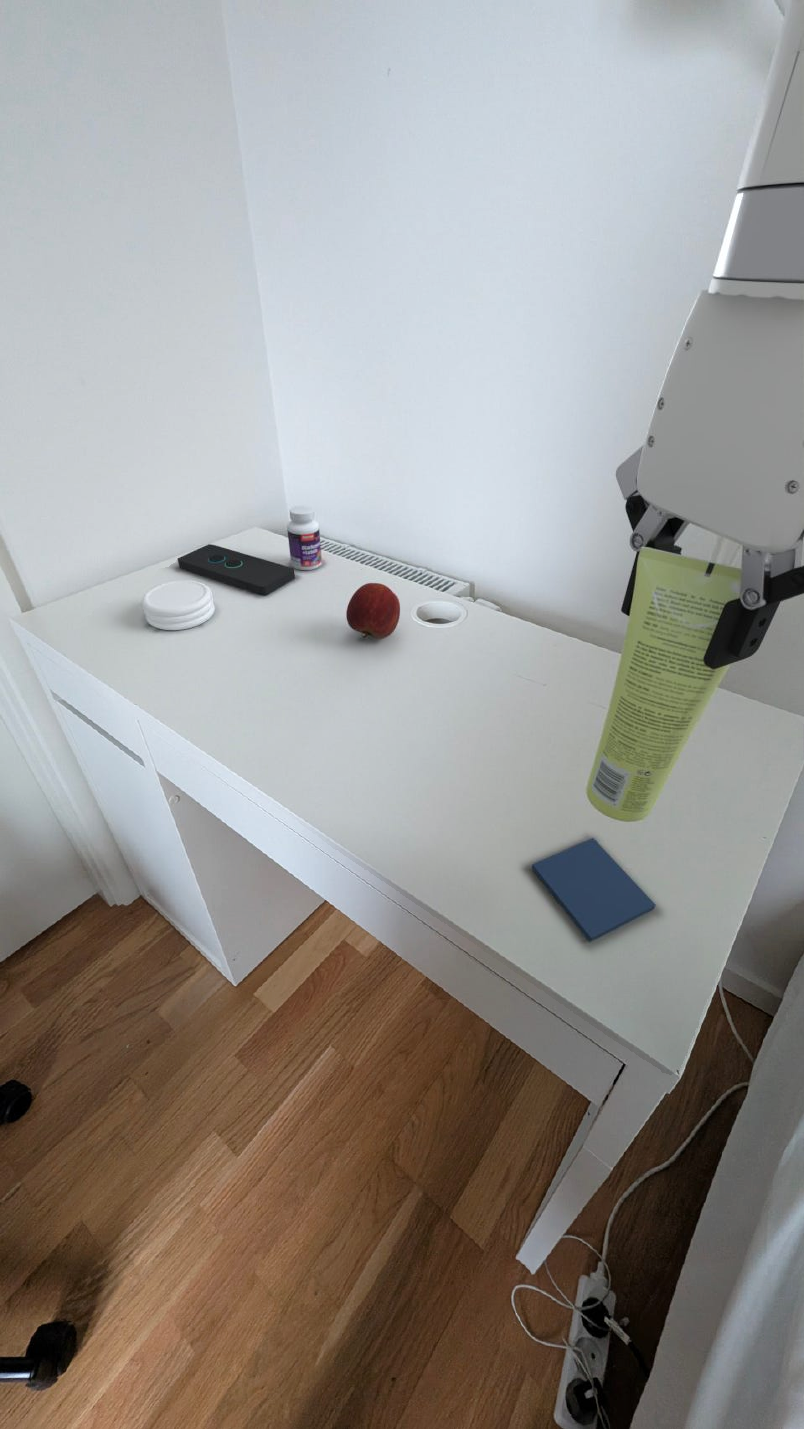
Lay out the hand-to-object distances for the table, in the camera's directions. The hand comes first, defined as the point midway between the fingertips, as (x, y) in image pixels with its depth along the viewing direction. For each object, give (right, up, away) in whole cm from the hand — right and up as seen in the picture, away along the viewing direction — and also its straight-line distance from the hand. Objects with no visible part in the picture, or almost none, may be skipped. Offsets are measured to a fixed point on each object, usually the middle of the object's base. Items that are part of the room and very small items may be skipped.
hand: (682, 631), depth 35 cm
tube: (0, -12, +10) cm, 15 cm away
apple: (-21, +6, +49) cm, 54 cm away
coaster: (-50, +10, +53) cm, 74 cm away
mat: (0, -20, +16) cm, 26 cm away
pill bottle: (-34, +21, +67) cm, 78 cm away
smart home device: (-45, +19, +65) cm, 81 cm away
